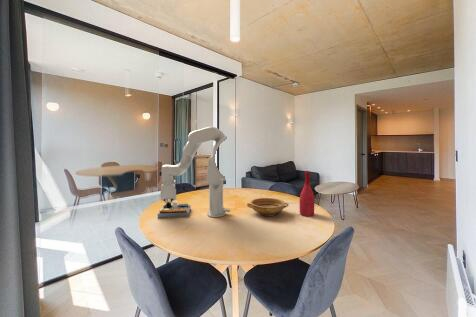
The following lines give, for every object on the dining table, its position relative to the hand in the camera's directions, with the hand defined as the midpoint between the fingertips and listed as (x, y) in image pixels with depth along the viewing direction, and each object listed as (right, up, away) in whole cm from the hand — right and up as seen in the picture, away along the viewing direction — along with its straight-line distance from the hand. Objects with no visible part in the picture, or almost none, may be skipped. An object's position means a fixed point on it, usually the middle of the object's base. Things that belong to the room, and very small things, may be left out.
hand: (168, 208), depth 151 cm
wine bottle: (+96, -4, -3) cm, 96 cm away
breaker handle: (+4, -1, +1) cm, 4 cm away
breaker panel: (+4, -4, +1) cm, 6 cm away
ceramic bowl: (+69, -4, 0) cm, 69 cm away
